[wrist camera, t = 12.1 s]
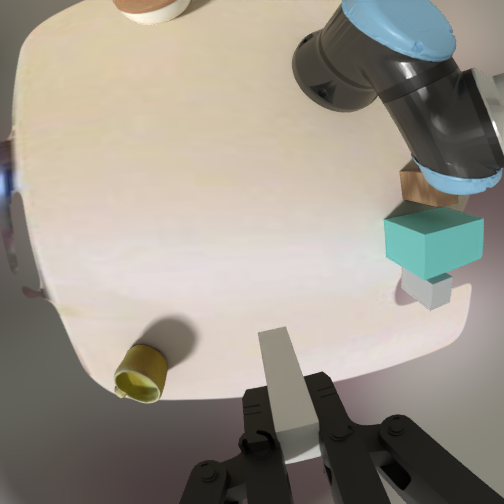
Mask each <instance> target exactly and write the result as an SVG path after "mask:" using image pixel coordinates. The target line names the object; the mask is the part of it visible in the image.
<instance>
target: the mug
mask: <svg viewBox="0 0 504 504" xmlns="http://www.w3.org/2000/svg"><path fill="white" fill-rule="evenodd" d="M167 370H168V365H167V361H166V359H165V357H164V356H163V355H162V354H161V353H160V352H159V351H157V350H155V349H154V348H152V347H149V346H146V345H141V344H140V345H136V346H134V347H132V348H130V349H129V350H128V352H127V353H126V355H125V358H124V359H123V361H122V363H121V364H120V365H119V367H118V368H117V370H116V372H115V374H114V382H115V385H116V386H115V394H116V395H117V396H119V397H120V398H123V397H125V396H126V395H127V396H128V397H130V398H131V399H134V400H136V401H139V402H142V403H153V402H156V401H158V400H159V399H160V397H161V395H162V392H163V389H164V386H165V380H166V375H167Z"/></svg>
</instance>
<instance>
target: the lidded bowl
mask: <svg viewBox="0 0 504 504" xmlns="http://www.w3.org/2000/svg"><path fill="white" fill-rule="evenodd" d="M190 2H191V0H113V3H114V4H115V6H116V7H117V8H118V9H119V10H120V11H121V12H122V13H123V14H124V15H125V16H126V17H127V18H128V19H130V20H132V21H134V22H136V23H139V24H144V25H155V24H161V23H164V22H167V21H170V20H172V19H174V18H175V17H177V16H178V15H180V14H181V13H182V12H183V11H184V10H185V9H186V8H187V7H188V5H189V4H190Z"/></svg>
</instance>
